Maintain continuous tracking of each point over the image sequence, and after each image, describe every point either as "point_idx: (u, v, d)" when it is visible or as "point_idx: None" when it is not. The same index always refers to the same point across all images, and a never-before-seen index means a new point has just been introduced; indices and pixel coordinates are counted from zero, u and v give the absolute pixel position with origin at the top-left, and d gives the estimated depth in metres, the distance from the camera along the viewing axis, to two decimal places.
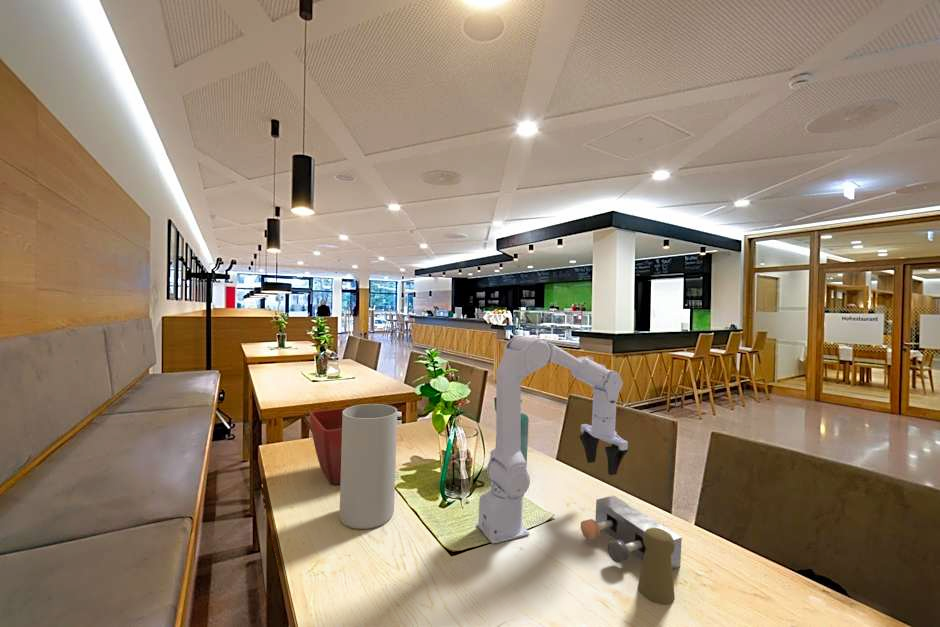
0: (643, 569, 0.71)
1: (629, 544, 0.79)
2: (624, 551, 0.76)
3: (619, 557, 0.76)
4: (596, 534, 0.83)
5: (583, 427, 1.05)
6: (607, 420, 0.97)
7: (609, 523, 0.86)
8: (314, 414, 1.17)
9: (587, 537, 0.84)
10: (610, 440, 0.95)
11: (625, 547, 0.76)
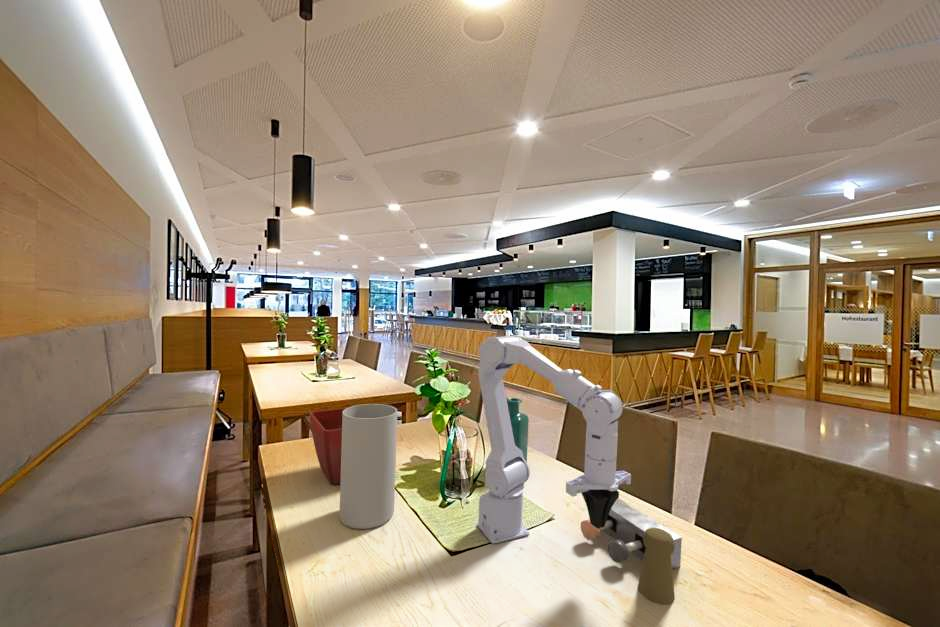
0: (643, 569, 0.71)
1: (629, 544, 0.79)
2: (624, 551, 0.76)
3: (619, 557, 0.76)
4: (596, 534, 0.83)
5: None
6: (585, 456, 0.74)
7: (609, 523, 0.86)
8: (314, 414, 1.17)
9: (587, 537, 0.84)
10: None
11: (625, 547, 0.76)
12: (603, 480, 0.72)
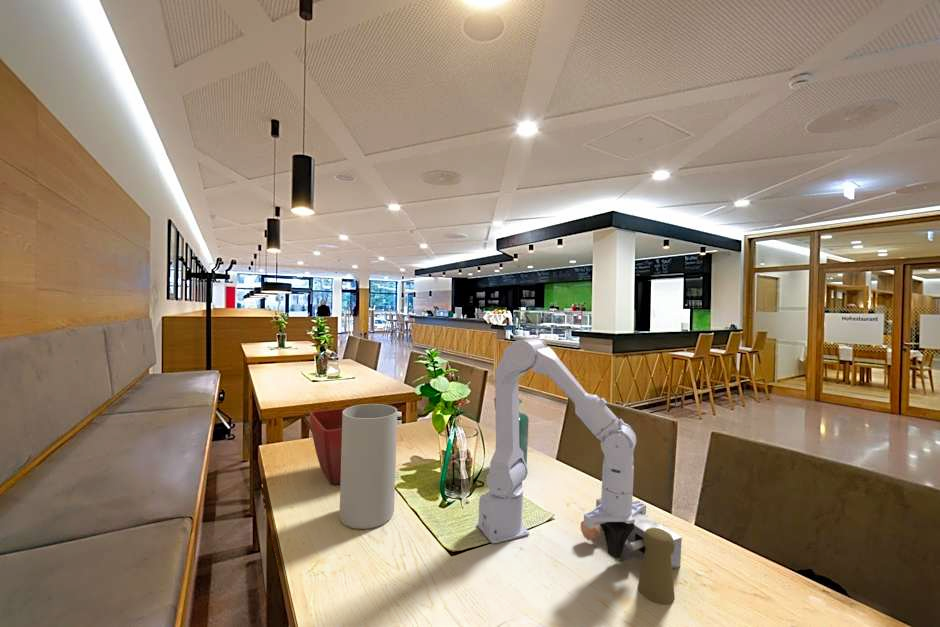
0: (643, 569, 0.71)
1: (634, 543, 0.79)
2: (629, 550, 0.76)
3: (624, 555, 0.76)
4: (596, 534, 0.83)
5: None
6: (602, 488, 0.77)
7: None
8: (314, 414, 1.17)
9: (587, 537, 0.84)
10: None
11: (630, 546, 0.77)
12: (620, 512, 0.74)
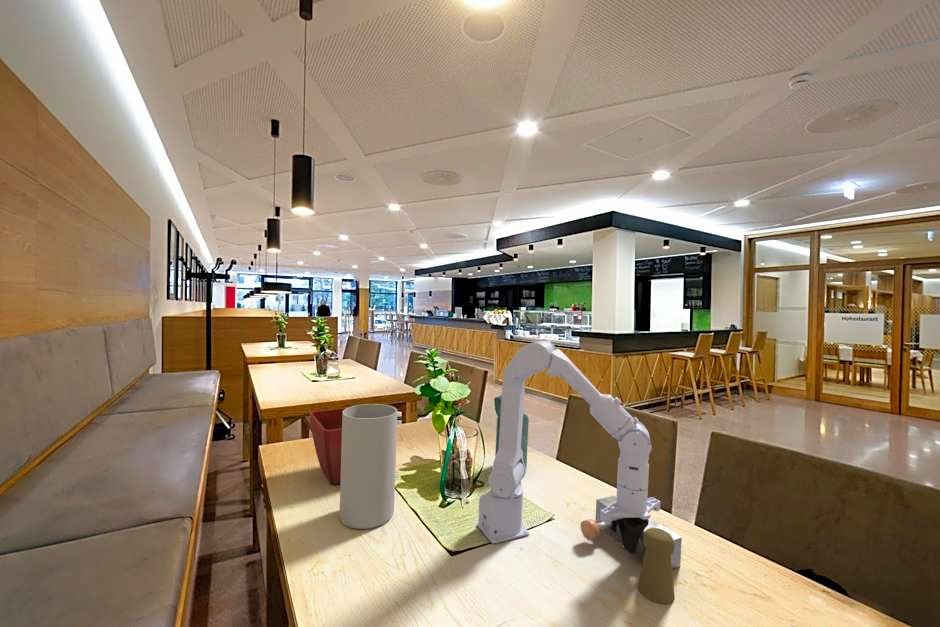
0: (643, 569, 0.71)
1: None
2: (643, 545, 0.78)
3: (638, 551, 0.78)
4: (596, 534, 0.83)
5: None
6: (618, 485, 0.78)
7: None
8: (314, 414, 1.17)
9: (587, 537, 0.84)
10: None
11: None
12: (636, 508, 0.76)
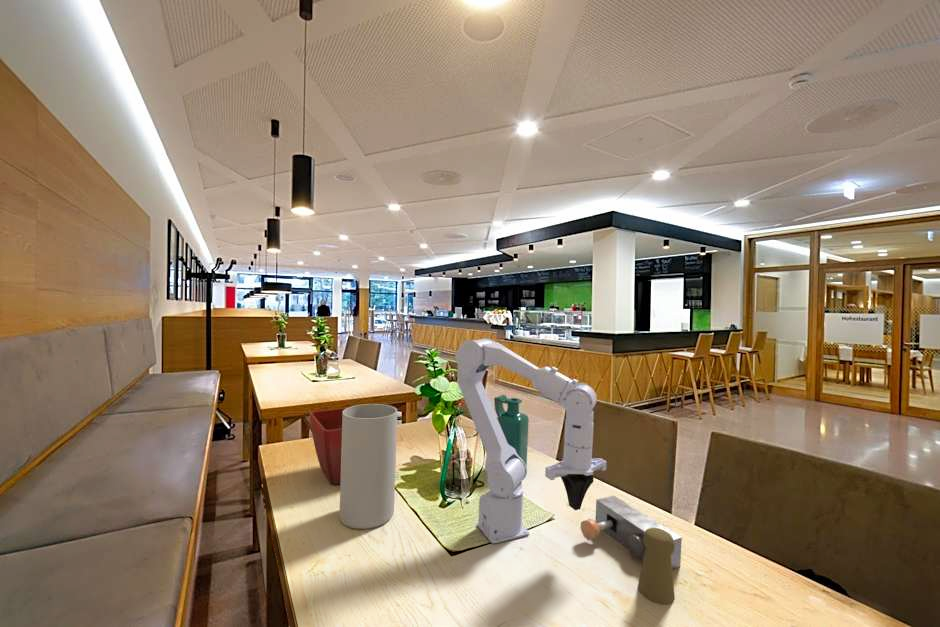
0: (643, 569, 0.71)
1: None
2: (643, 545, 0.78)
3: (638, 551, 0.78)
4: (596, 534, 0.83)
5: None
6: (564, 444, 0.81)
7: (609, 523, 0.86)
8: (314, 414, 1.17)
9: (587, 537, 0.84)
10: None
11: None
12: (579, 465, 0.78)
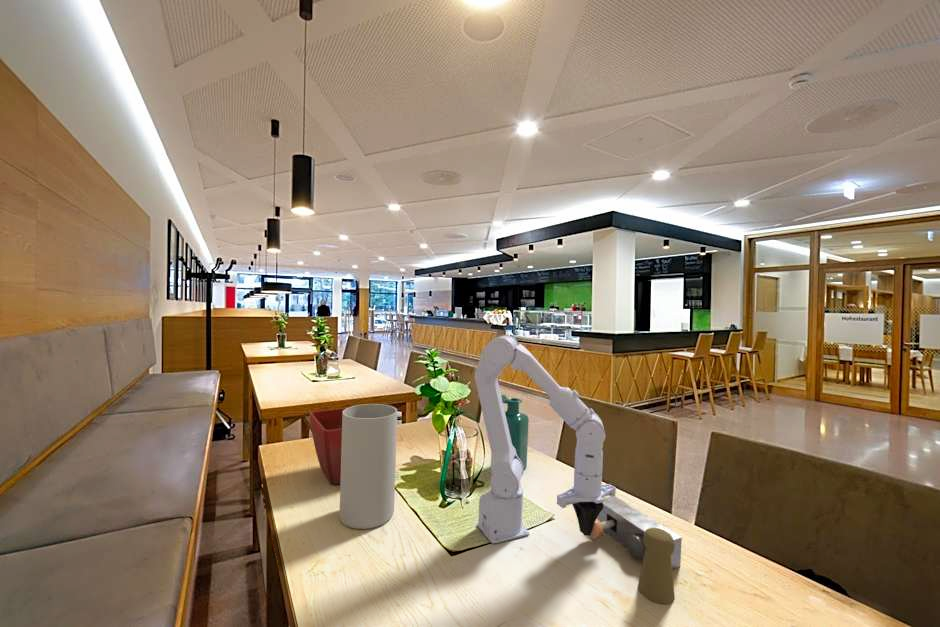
0: (643, 569, 0.71)
1: None
2: (643, 545, 0.78)
3: (638, 551, 0.78)
4: (599, 533, 0.83)
5: None
6: (574, 472, 0.84)
7: (613, 522, 0.87)
8: (314, 414, 1.17)
9: (590, 536, 0.84)
10: None
11: None
12: (590, 493, 0.81)
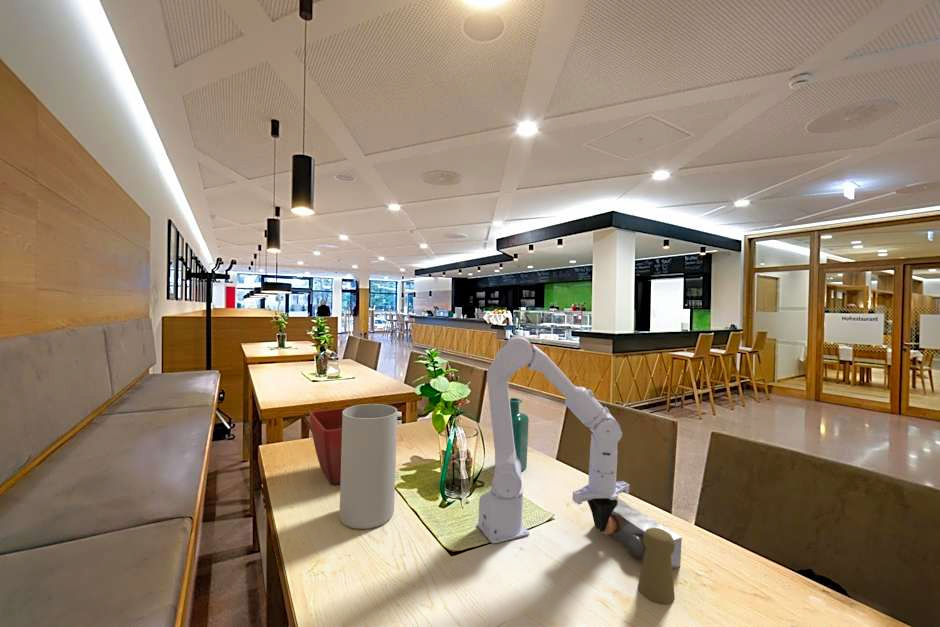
0: (643, 569, 0.71)
1: None
2: (643, 545, 0.78)
3: (638, 551, 0.78)
4: (613, 529, 0.85)
5: None
6: (589, 469, 0.86)
7: None
8: (314, 414, 1.17)
9: (604, 532, 0.86)
10: None
11: None
12: (605, 490, 0.83)
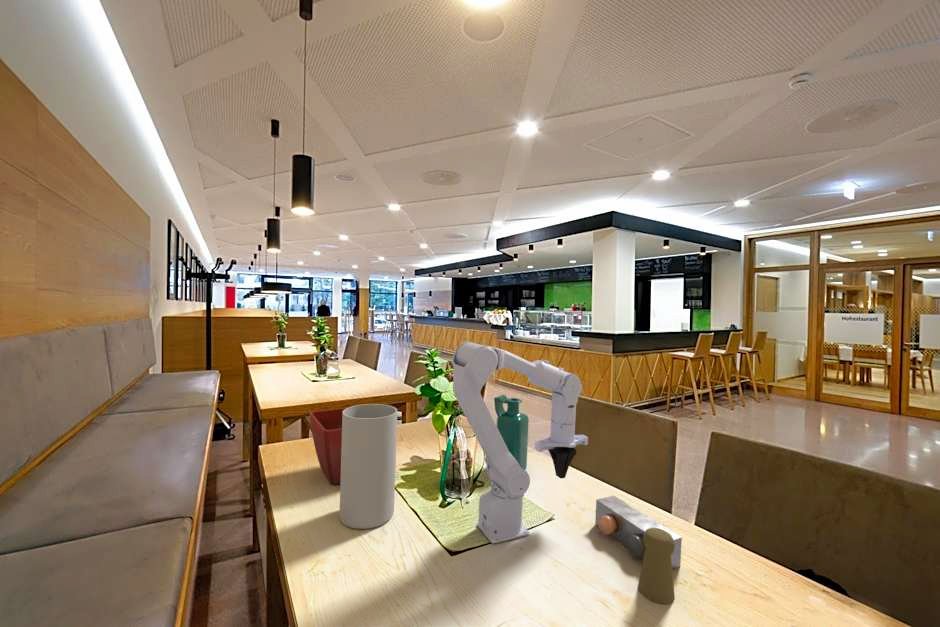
0: (643, 569, 0.71)
1: None
2: (643, 545, 0.78)
3: (638, 551, 0.78)
4: (613, 529, 0.85)
5: None
6: (551, 422, 0.94)
7: None
8: (314, 414, 1.17)
9: (604, 532, 0.86)
10: None
11: None
12: (564, 439, 0.91)
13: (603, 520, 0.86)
